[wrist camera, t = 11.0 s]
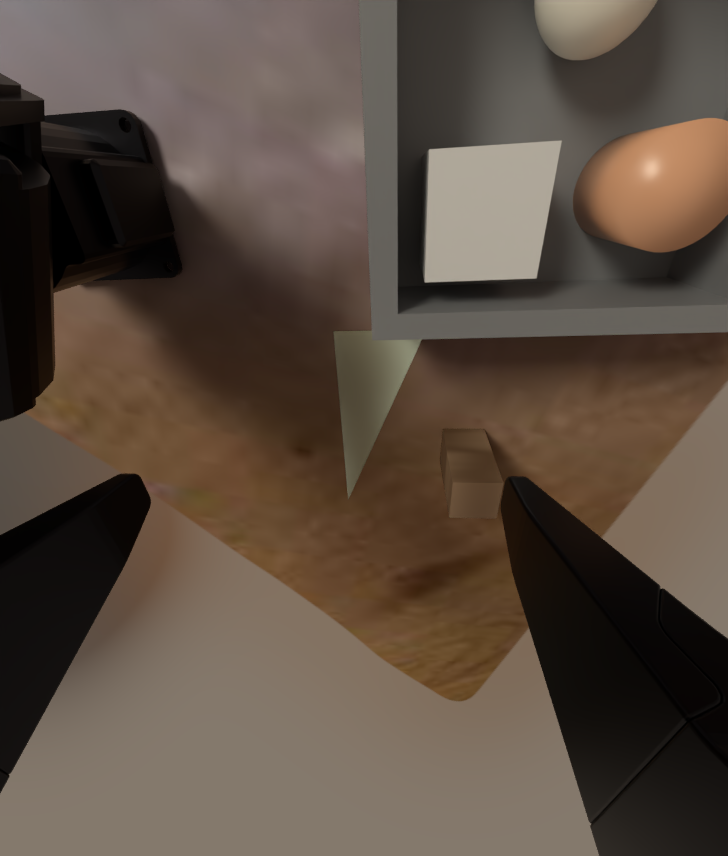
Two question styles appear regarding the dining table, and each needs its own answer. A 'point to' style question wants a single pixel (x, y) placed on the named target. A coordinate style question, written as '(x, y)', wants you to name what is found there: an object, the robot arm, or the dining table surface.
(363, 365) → the lid
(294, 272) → the dining table surface
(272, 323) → the dining table surface
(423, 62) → the storage box
